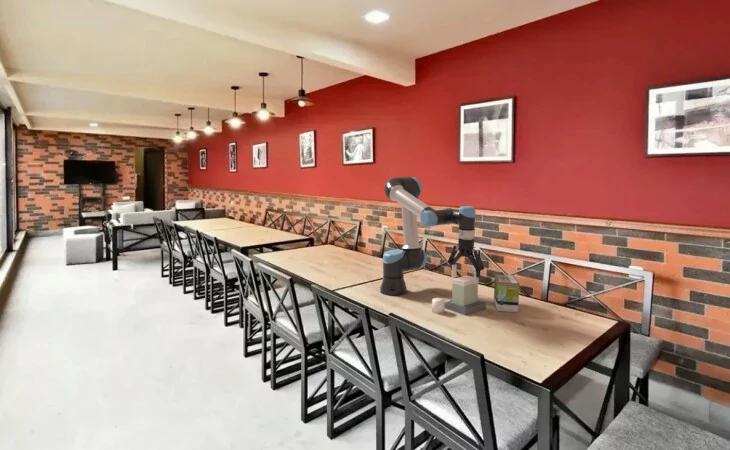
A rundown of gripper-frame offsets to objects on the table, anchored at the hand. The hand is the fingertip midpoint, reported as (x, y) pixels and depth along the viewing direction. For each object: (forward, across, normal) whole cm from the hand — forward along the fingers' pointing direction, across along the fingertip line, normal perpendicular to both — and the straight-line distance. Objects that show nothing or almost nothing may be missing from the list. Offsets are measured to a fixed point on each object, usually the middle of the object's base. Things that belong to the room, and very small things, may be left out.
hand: (464, 280), depth 196 cm
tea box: (+14, +13, +17) cm, 25 cm away
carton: (+11, +1, 0) cm, 11 cm away
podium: (+14, +1, 0) cm, 14 cm away
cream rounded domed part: (+14, -4, -14) cm, 20 cm away
